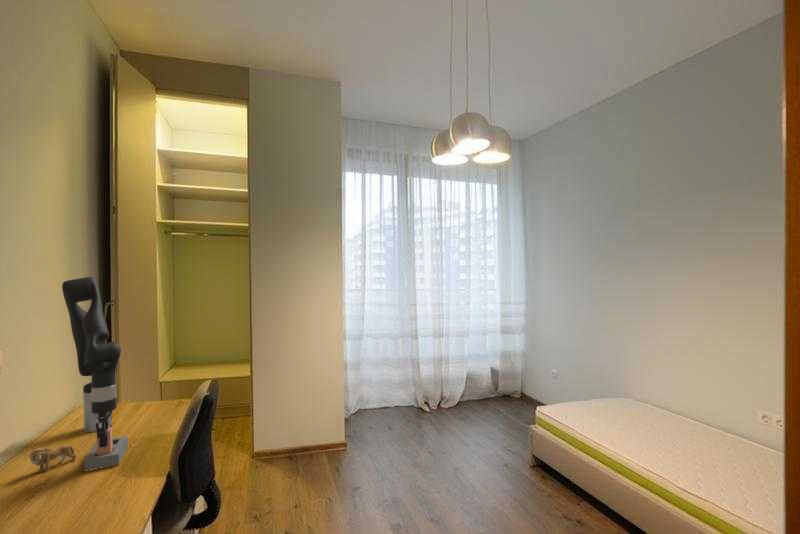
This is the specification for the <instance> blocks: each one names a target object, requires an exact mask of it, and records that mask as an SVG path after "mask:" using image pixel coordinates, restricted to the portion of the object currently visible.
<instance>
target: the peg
mask: <svg viewBox="0 0 800 534" xmlns="http://www.w3.org/2000/svg"><path fill="white" fill-rule="evenodd" d="M101 433H104V432H101ZM107 434H108V435H107V446H106V447H102V448H100V447H99V438H97V437H96V442H97V456H100V455H105V454H111V453H112V452H113V438H114V437H113V426H112V427H110V428H109V429H108V430H107Z"/></svg>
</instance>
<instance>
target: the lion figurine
mask: <svg viewBox="0 0 800 534" xmlns="http://www.w3.org/2000/svg"><path fill="white" fill-rule="evenodd" d="M60 456H61V460H60V461H58V464H63V462H64V461H65V460H66V458H67V457H69V458H72V459H71V460H70V462H73V463H74V462H76V458H77V455H76V454H75V451H74V448H73V447H72V445H71V444H62V445H60V446H58V447H56V448H54V449H49V448H46V447H45V448H43V447H38V448H35V449H33V450H32V451H31V452H30V454H29V460H30V463H31V464H34V465H36V466H39V469H38V470H37V471H38V473H39V472H42V471H43V472H44V473H47V472H49V471H50V462H51V461H54V460H57V459H58V458H59V457H60ZM44 469H45V470H44Z"/></svg>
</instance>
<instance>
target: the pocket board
mask: <svg viewBox="0 0 800 534" xmlns="http://www.w3.org/2000/svg"><path fill="white" fill-rule="evenodd" d="M128 438H129V437H128V435H123V436H118V437H113V452H112V453H111V454H105V455H100V456H97V441H96V442H95V444H94V445H93V447H92V448H91V450H90V451H89V452H88V454H87V455H86V457H85V458H84V460H83V462H84V465H83V466H84V468H83V469H84V471H86V470H90V469H95V468H100V467H106V466H111V467H113V466H112V465H117V466H120V464H119V463H121V462H120V461H122V459H123V457H124V455H125V454H126V453H125V452H126V450H127V448H128V446H129V439H128ZM106 468H107V467H106ZM86 472H87V471H86Z"/></svg>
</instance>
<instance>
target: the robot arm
mask: <svg viewBox="0 0 800 534" xmlns="http://www.w3.org/2000/svg"><path fill="white" fill-rule="evenodd" d="M61 291H62V294H63V298H64V299H63V300H64V301H65V305H66V308H67V310H68V311H67V312H68V315H69V316H68V317H69V320H70V328H71V333H72V337H73V341H74V345H75V349H76V350H75V351H76V357H77V367H78V372H79V375H80V376H82V377H90V376H91V382H88V383H86V384H85V385H84V386H83V390H82V391H83V392H82V393H83V394H82V398H83V402H82V403H83V431H84V432H85V433H95V432H96V439H97V438H99V447H100V448H102V447H106V446H107V435H108V434H107V430H108V429H109V428H110V427H112V428H113V426H112V425H113V424H112V423H113V411H115V410H116V409H117V405H118V400H117V399H118V396H117V385H116V384H117V383H116V371H117V367H118V363H119V361H120V358H121V354H122V348H121V346H120V344H119V343H118V342H115V341H111V342H109V341H108V342H106V341H107V340H108V339H109V338H110V333H109V330H108V326H107V323H106V320H105V316H104V311H103V310H104V309H103V304H102V303H103V302H102V298H101V292H100V287H99V284H98V282H97V280H96V279H95V277H92V276H88V277H81V278H73V279H67V280H65V281H63V282H62V285H61ZM86 301H91V303H90V306H89V307H88V310H87V311H86V310H84V309H83V308H82V307H81V306H80V305H79V304H78V303H80V302H86ZM101 432H104V433H101Z"/></svg>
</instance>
